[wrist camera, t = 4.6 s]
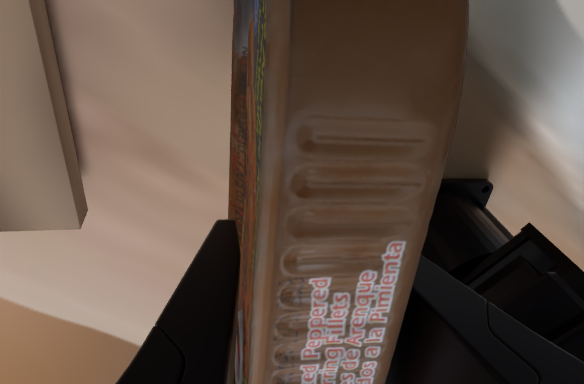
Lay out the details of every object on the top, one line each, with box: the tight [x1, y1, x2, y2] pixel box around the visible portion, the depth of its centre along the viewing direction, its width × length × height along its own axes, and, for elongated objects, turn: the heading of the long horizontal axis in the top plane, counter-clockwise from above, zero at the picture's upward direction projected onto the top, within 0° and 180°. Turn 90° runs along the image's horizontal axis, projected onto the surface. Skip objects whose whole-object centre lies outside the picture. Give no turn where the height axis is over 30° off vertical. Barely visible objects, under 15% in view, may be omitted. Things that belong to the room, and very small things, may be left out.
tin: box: [228, 0, 469, 384], centre depth 10 cm, size 15×3×8 cm, turn 174°
